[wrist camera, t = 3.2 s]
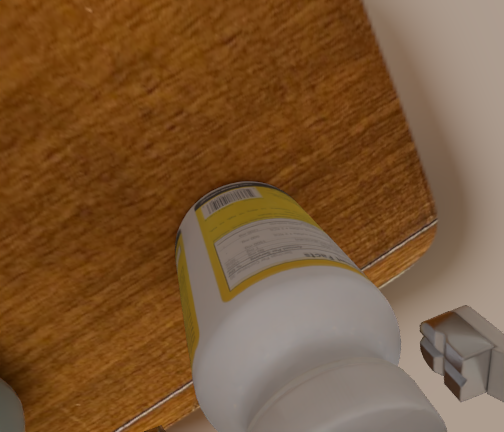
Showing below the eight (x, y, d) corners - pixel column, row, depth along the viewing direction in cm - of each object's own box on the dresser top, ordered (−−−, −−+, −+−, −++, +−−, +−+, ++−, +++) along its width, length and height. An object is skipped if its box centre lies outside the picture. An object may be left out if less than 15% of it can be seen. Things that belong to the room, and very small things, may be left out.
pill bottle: (225, 313, 20) (306, 592, 10) (143, 232, 17) (143, 519, 7) (323, 242, 20) (510, 457, 10) (259, 147, 17) (434, 317, 7)
